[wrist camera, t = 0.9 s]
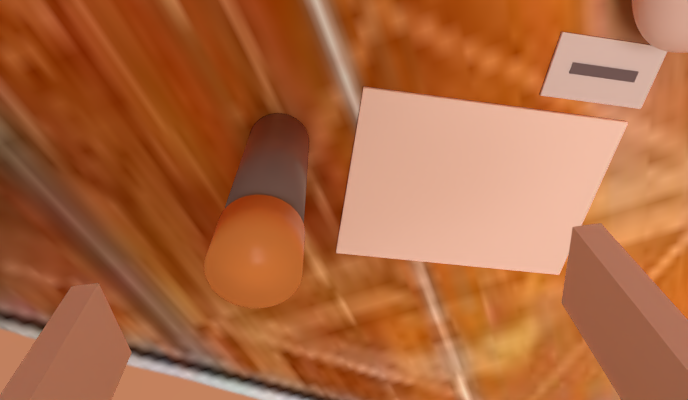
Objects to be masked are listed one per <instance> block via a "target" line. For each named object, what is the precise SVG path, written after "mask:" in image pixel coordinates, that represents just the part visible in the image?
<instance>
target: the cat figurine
mask: <svg viewBox="0 0 688 400" xmlns="http://www.w3.org/2000/svg"><path fill="white" fill-rule="evenodd" d="M632 10H633V16H634V20H635V23H636V26H637V28H638V30H639V32H640V33H641V35H642V36H643V38H644V39H645V40H646V41H647V42H648V43H650V44H651V45H652V46H654V47H656V48H658V49H660V50H664V51H668V52H676V53H685V52H688V0H632Z"/></svg>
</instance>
